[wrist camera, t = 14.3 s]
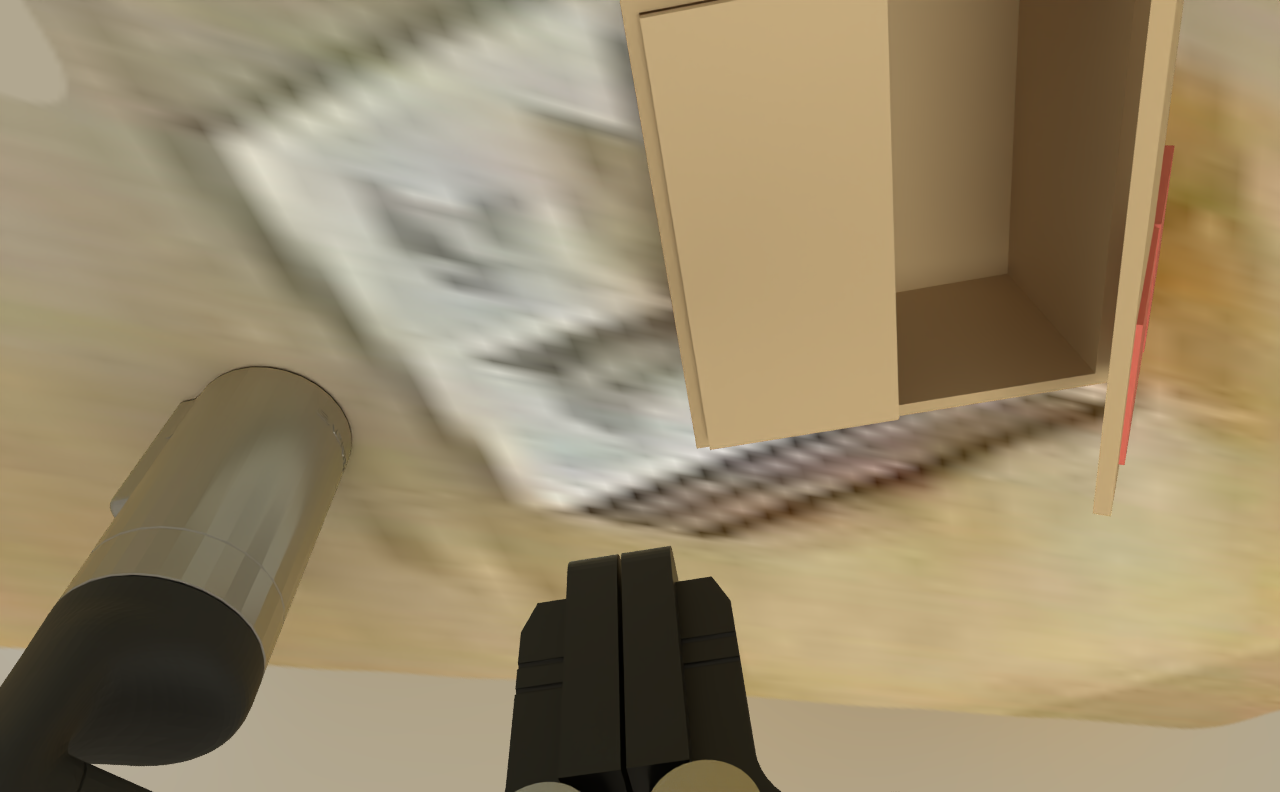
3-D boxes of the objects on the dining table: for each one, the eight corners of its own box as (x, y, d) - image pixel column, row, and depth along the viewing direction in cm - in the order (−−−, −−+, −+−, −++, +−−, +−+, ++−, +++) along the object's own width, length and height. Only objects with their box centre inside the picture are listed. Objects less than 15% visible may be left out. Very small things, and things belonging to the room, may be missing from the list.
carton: (679, 333, 53) (698, 462, 43) (615, -44, 43) (619, 3, 32) (1015, 276, 52) (1121, 394, 42) (1035, -126, 42) (1183, -105, 31)
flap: (1092, 513, 35) (1118, 517, 34) (1152, -13, 25) (1189, -15, 24) (1136, 281, 48) (1155, 282, 48) (1187, -121, 38) (1211, -123, 38)
